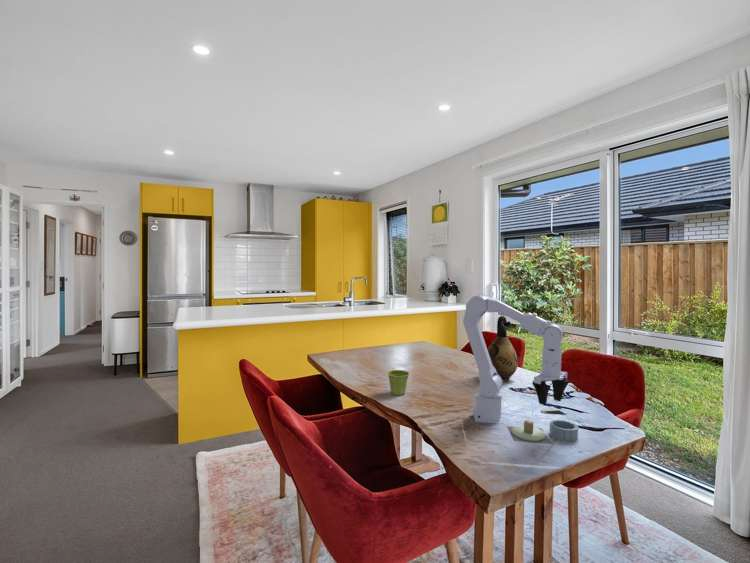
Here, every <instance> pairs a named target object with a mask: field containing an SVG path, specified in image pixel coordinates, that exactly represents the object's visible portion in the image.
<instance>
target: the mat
mask: <svg viewBox="0 0 750 563" xmlns="http://www.w3.org/2000/svg"><path fill="white" fill-rule="evenodd" d="M506 427H507V430H508V431H509V434H510V436H511V437H512V439H513V441H514V442H525V443H538V444H539V443H541V444H552V441H551V440H550V439H549V437H548V436H547V434H546V433H545V431H544V430H543V429H542V428H539V427H537V428H538V429H540V430H542V431H543V432H544V433H545V439H544V440H542V441H527V440H523V439H520V438H517V437H516V436H514V435H513V434H512V428H513V427H514V426H506Z"/></svg>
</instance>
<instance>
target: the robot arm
mask: <svg viewBox="0 0 750 563" xmlns="http://www.w3.org/2000/svg"><path fill="white" fill-rule="evenodd" d="M486 313H499V314H501V315H502V316H504V317H508V318H510V319H511V320H514V321H516V322H517V323H519V324H520V327H521V328H522V329H524V330H526V331H527V332H529V333H532V334H534V335H535V336H537V337H540V338H541V337H542V339H543V345H542V352H541V354H542V356H541V357H542V358H541V373H540V374H538V375H535V376H533V380H532V386H533V387H534V389H535V392H536V396H537V399H538V400H537V401H538V404H539V405H542V406H546V405H547V402H548V394H549V391H550V389H551V385H552V393H553V394H552V395H553V400H554V401H557V402H561V401H562V398H563V395H564V392H565V390H566V388H567V387H568V385H569V383H570V381H569V380H568V372H567V371H562V355H563V354H562V352H563V351H562V350H563V349H562V346H563V345H562V344H563V343H562V339H563V334H564V333H563V332H564V331H563V329H562V328H561V326H559V325H558V324H557V323H554V322H553V323H552V321H551V320H545V319H544V318H542V317H539V316H538V314H537V313H536V312H533V313H531V312H526V313H523V312H521V311H519V310H518V309H516V308H514V307H513V306H510V305H508V304H506V303H504V302H503V301H501V300H500V299H496V298H494V297H491V296H488V295H487V294H484V293H481V294H479V295H475V296H472V297H471V298H470V299H469V300H468V301H467V303H466V304H465V312H464V315H463V319H462V322H463V323H462V324H463V326H464V330H465V332H466V335H467V338H468V341H469V345H470V347H471V351H472V353H473V354H472V355H473V357H474V360H475V363H476V366H477V368H478V381H479V386H478V388H479V391H480V392H479V393H475V394H473V405H472V406H473V410H472V415H473V418H474V421H475V423H486V424H487V423H488V424H502V425H503V424H504V420H503V419H502V400H503V399H502V398H503V397H502V393H501V391H500V389H501V388H502V387H503V382H504V381H502V379H501V377H500V376H499V375H498V374H497V372H496V369H495V368H494V366H493V365H492V362H491V359H490V356H489V353H488V348H487V344H486V340H485V338H484V336H483V335H484V334H483V332H482V330H481V326H480V321H481V319H482V317H483V316H484V315H485V314H486ZM546 382H551V385H550V384H547V383H546Z"/></svg>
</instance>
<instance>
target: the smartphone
mask: <svg viewBox="0 0 750 563" xmlns="http://www.w3.org/2000/svg"><path fill="white" fill-rule="evenodd" d="M540 412H541V413H543V414H546V415H561V416H563V415H564V416H568V413H565V412H563V411H562V410H560V409H558V408H552V409H551V408H549V409H540ZM576 421H577V422H578V423H579V424H580V425H581V426H582V427H586V424H585V423H583V422H582V421H580V420H578V419H576Z"/></svg>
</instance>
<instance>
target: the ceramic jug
mask: <svg viewBox="0 0 750 563" xmlns="http://www.w3.org/2000/svg"><path fill="white" fill-rule="evenodd" d="M506 317H507V316H505V315H499V316H498V318H497V323H496V337H495V339H494V340H493V341H492V343H491V344H490V345H489V347H488V348H487V350H488V353H489V356H490V359H491V362H492V365H493V366H494V368H495V369H496V372H497V374H498V375H499V376H500V377H501V379H502V382H508V381H510V379H511V377H512V376H514V375H515V373H516V371H517V369H518V365H519V361H518V360H519V359H518V356H517V353H516V349H515V348H514V346H513V344H512V342H511V340H510V339H509V337H508V336H507V334H508V333H507V330H509V329H511V328H512V323H511V322H510V320H509V321H508V320H507V318H506Z"/></svg>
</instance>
